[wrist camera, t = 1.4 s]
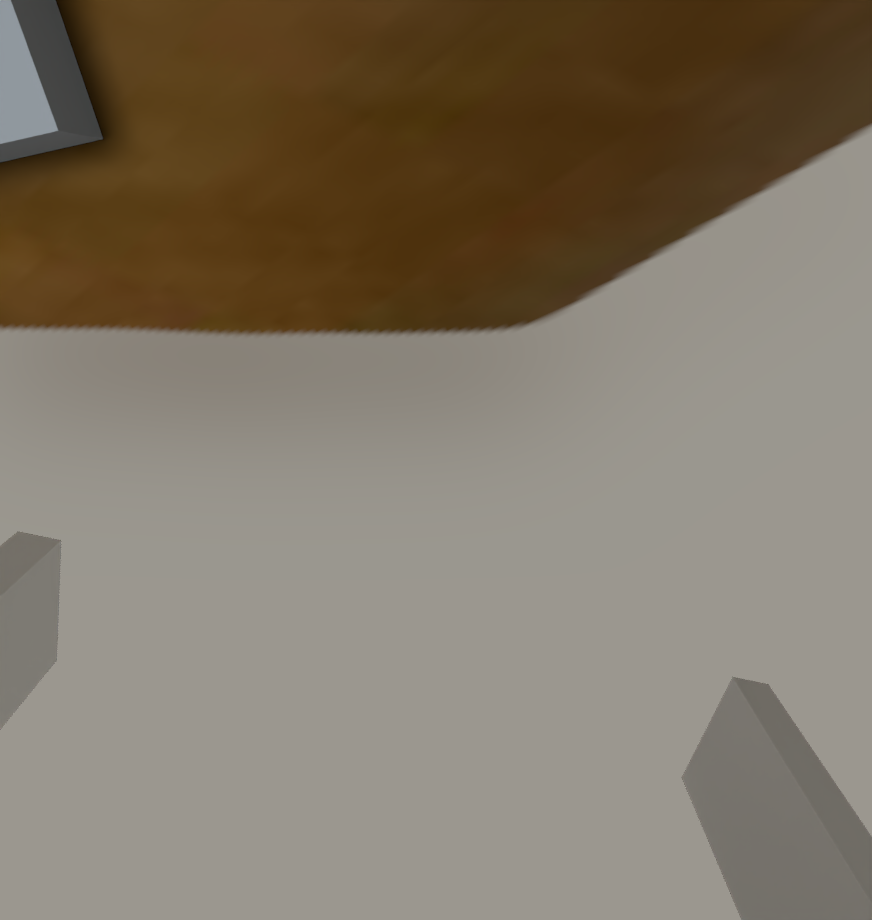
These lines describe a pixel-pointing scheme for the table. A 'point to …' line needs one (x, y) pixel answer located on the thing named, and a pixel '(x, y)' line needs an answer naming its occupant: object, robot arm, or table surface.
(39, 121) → the hole block
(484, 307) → the table surface
